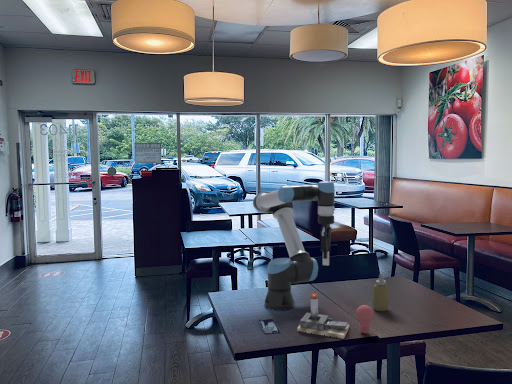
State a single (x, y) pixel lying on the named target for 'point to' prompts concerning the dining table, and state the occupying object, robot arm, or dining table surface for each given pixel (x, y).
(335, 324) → the tab
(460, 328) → the dining table surface
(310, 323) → the block
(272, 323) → the smartphone
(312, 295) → the pin
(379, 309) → the squeeze bottle
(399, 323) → the dining table surface
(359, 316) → the light bulb
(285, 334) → the dining table surface
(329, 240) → the robot arm
